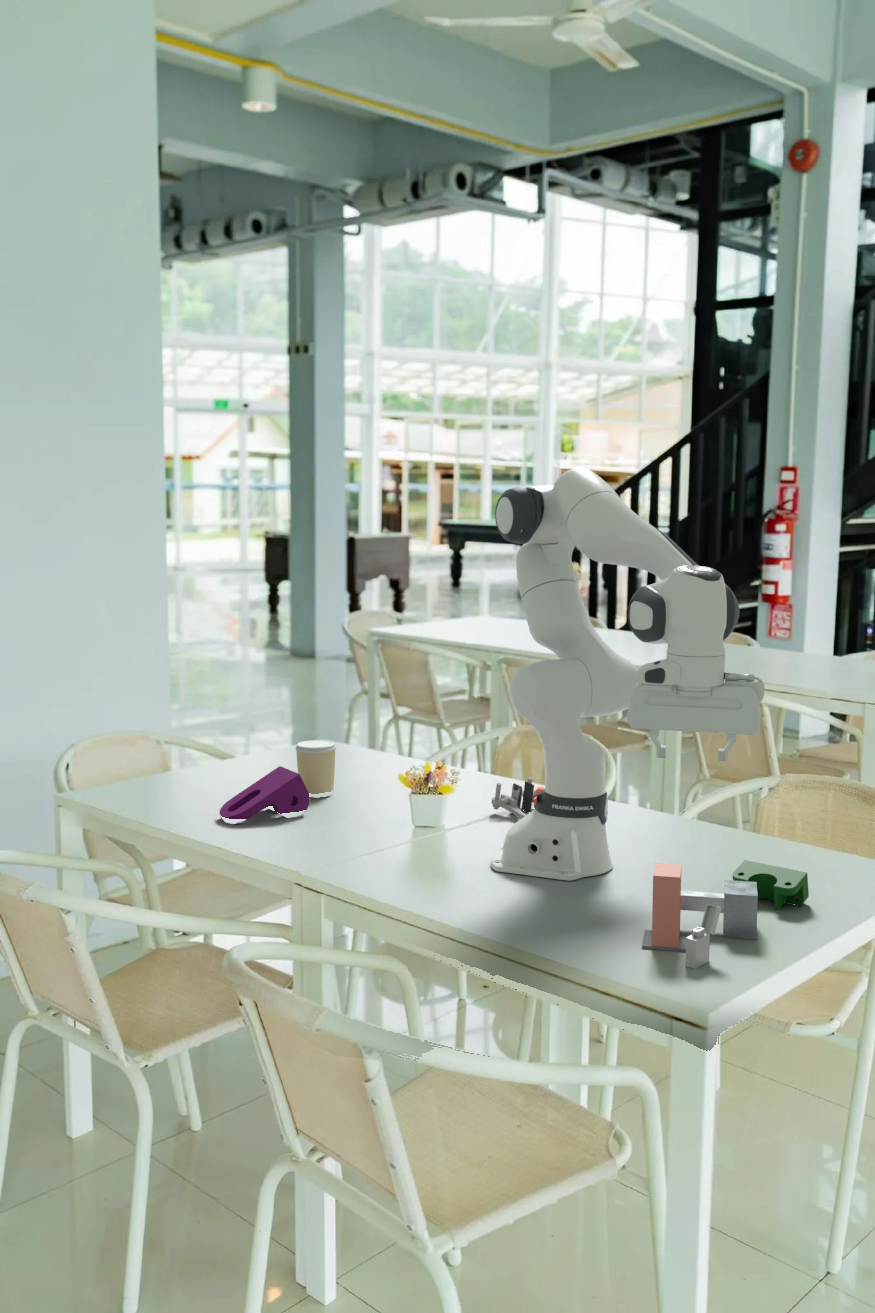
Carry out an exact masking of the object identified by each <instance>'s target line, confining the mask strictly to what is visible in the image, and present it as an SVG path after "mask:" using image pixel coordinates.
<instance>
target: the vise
mask: <svg viewBox="0 0 875 1313" xmlns="http://www.w3.org/2000/svg"><path fill="white" fill-rule="evenodd" d="M758 901H759V898H758V893H757V883H756V882H748V881H733V879H732V880H731V879H730V880H729V879H724V880H723V892H721V893H720V892H708V891H697V890H695V891H694V890H681V910H680V911H692V912H693V911H694V912H704V913H705V909H706V905H707V904H712V905H716V906H719V907H720V908H721V911H720V914H722V915H723V916H722V938H727V939H741V940H743V939H744V940H756V941H757V934H758V933H757V931H758V930H757V929H758V928H757V926H758Z"/></svg>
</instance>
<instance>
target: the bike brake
mask: <svg viewBox="0 0 875 1313" xmlns="http://www.w3.org/2000/svg"><path fill="white" fill-rule="evenodd" d="M532 782H533V778H532V776H531V777H527V781H526V780H525V781H524V788H523V787H522V786H520V785H519V784H517V783H513V784H512V788H511V795H510V796H509V795H507V794H506V793H505V794H504V793H501V790H502V782H496V787H495V794H494V797H491V804H492V807H493V809H494V810H499V808H503V809H505V810H506V811H508V812H509V813H511V814H512V813H513V814H512V815H514V816H516V817H517V818H519V820H520V819H522V818H523V817H524V816H526V815H527V812H531V811H532V805H533V804H534V792H535V785H534V784H533V783H532ZM521 803H522V804H521ZM522 810H524V811H526V812H525V813H524V811H522Z"/></svg>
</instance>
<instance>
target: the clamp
mask: <svg viewBox="0 0 875 1313" xmlns="http://www.w3.org/2000/svg"><path fill="white" fill-rule="evenodd" d="M732 880H733V881H748V882H756V883H757V893H758V899H760V898H761V897H762V898H761V899H766V900H769V899H771V901H774V909H775V910H777V911H779V910H780V909H781V908H782V907H783V906H784V904H787V903H789V905H792V904H795V905H794V906H796V905H798V906H797V907H801V906H802V905H803V904H804V903H805V902H806V901H807V900H808V899H809V895H810V894H809V881H808V880H809V879H808V872H807V871H803V870H797V869H791V868H787V867H781V866H777V865H771V864H766V863H762V862H756V861H752V860H746V859H744V861H742V862H741V863H740V864H739V866H738V867H737V868H735V870H733V872H732Z"/></svg>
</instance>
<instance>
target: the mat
mask: <svg viewBox="0 0 875 1313" xmlns="http://www.w3.org/2000/svg"><path fill="white" fill-rule="evenodd" d="M690 935H691V933H690V932H680V936H679V948H672V947H660V946H652V929H644V934H643V940H642V944H641V949H647V950H648V949H649V950H657V951H658V950H660V951H669V952H671V951H672V952H683V953H686V937H688V936H690Z"/></svg>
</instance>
